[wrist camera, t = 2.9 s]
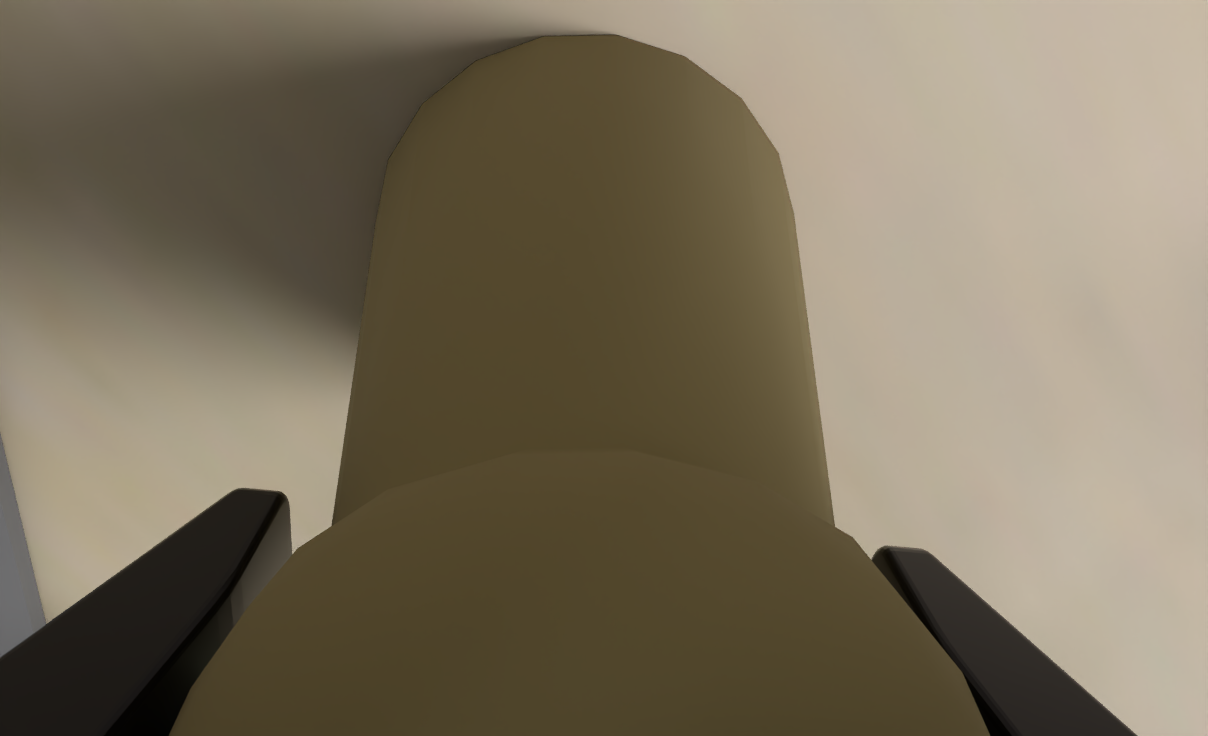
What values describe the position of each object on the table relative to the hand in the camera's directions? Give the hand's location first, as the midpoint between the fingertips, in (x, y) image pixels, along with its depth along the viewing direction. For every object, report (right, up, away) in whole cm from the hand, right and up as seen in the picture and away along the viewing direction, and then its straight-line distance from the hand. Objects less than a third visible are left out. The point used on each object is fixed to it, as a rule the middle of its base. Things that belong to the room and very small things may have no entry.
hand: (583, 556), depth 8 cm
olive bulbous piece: (0, +3, +6) cm, 7 cm away
